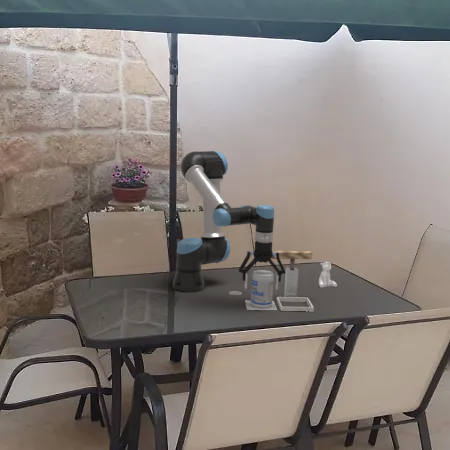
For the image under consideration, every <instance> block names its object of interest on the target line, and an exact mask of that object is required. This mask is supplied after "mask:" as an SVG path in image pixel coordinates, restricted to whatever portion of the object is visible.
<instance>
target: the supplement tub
mask: <svg viewBox="0 0 450 450" xmlns="http://www.w3.org/2000/svg"><path fill="white" fill-rule="evenodd" d="M251 274H252V275H251V282H250V283H251V284H250V285H251V287H250V299H249V300H250V303H251V305H252V306H254V307H259V308H267V307H270V306H271V305H272V301H273V293H274V282H275V281H274V280H275V279H274V278H275V277H274V276H275V275H274V272H273V271H270V270H266V269H260V270H259V269H258V270H253V271H252V273H251Z"/></svg>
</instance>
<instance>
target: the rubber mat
mask: <svg viewBox="0 0 450 450" xmlns="http://www.w3.org/2000/svg"><path fill="white" fill-rule="evenodd" d="M245 303H246V304H245ZM244 304H245V306H246V311H248V310H277V311H278V308H277V306H276V303H275V300H272V305H271V306H270V307H267V308H259V307H254V306H252V305H251V303H250V299H249V300H248V299H245V300H244Z"/></svg>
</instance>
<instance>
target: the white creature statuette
mask: <svg viewBox="0 0 450 450" xmlns="http://www.w3.org/2000/svg"><path fill="white" fill-rule="evenodd" d="M319 264H320V266H321V267H322V271H321V272H320V276H319V278H318V286H319V287H320V289H322V288H326V287H334V288H337V287H338V283H337V282H336V281H334V280H332V279H331V273H330V272H331V269H332V263H331V262H329V261H324V262H323V263H322V262H320V263H319Z"/></svg>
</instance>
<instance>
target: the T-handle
mask: <svg viewBox="0 0 450 450" xmlns="http://www.w3.org/2000/svg"><path fill="white" fill-rule="evenodd" d="M276 252H278V253H279V258H280V260H290V261H289V268H290V269H294V268H295V266H296V264H295V263H296V261H295V260H312V259H313V252H312V251H311V250H310V251H309V250H306V251H305V250H302V251H301V250H300V251H299V250H272V253H276ZM270 259H271V260H277V259H276V258H275V257H274V256H272V257H271V258H270Z"/></svg>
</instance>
